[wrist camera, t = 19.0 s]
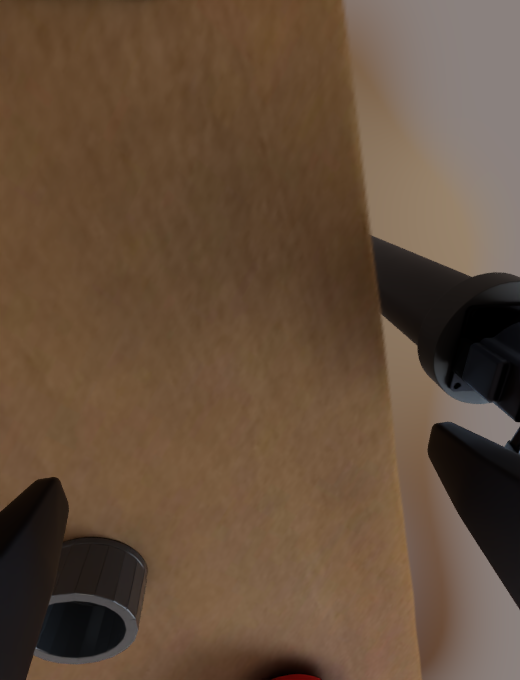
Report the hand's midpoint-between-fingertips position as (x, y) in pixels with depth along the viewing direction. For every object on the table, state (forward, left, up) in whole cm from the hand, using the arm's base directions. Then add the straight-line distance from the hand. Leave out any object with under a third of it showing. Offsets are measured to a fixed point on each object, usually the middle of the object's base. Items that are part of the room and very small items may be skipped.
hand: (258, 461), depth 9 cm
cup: (+11, +22, -13) cm, 28 cm away
